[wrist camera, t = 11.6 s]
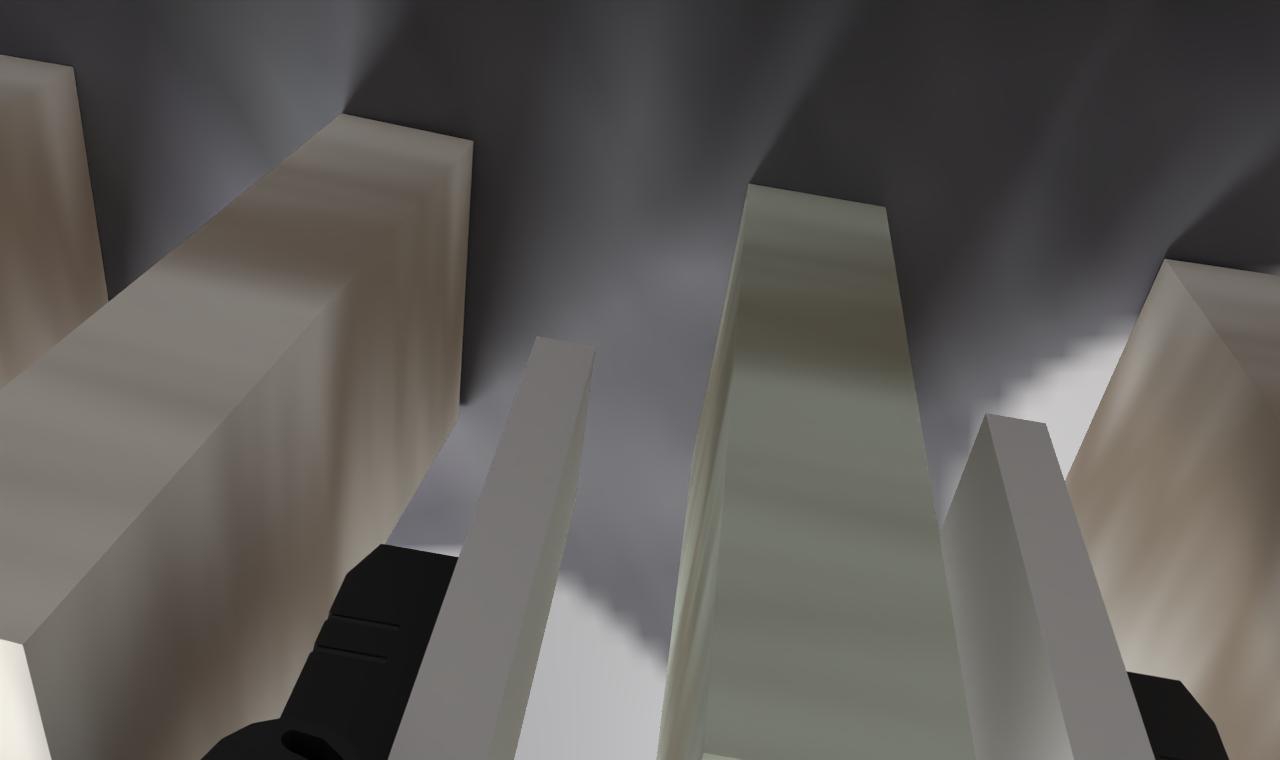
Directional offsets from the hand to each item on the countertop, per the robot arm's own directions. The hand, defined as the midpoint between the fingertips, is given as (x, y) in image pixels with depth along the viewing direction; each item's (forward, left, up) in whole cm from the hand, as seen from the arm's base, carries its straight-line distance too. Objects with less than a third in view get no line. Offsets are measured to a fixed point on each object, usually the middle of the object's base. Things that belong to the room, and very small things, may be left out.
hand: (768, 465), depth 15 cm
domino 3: (0, 0, -3) cm, 3 cm away
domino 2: (0, -6, -3) cm, 7 cm away
